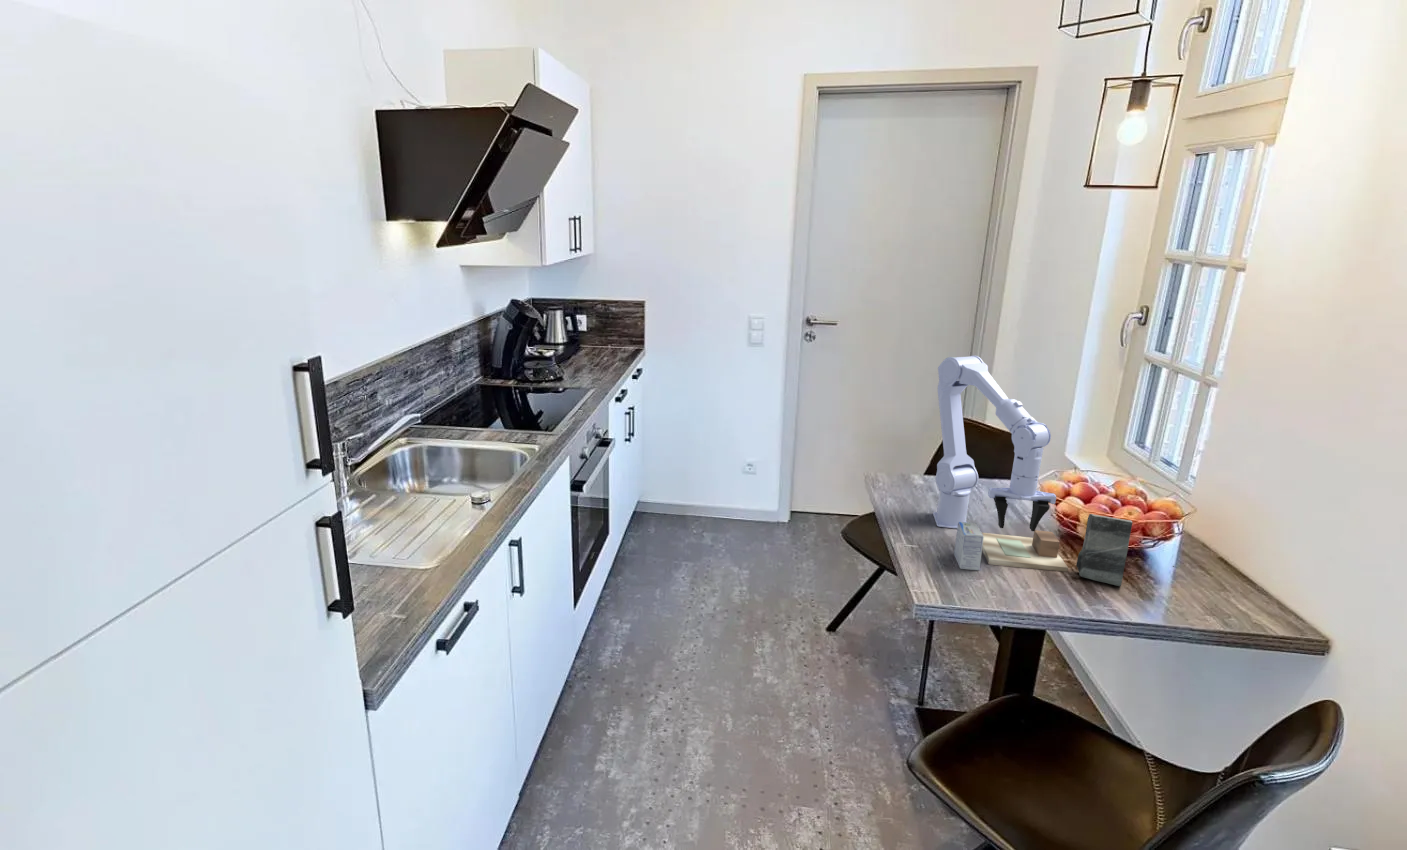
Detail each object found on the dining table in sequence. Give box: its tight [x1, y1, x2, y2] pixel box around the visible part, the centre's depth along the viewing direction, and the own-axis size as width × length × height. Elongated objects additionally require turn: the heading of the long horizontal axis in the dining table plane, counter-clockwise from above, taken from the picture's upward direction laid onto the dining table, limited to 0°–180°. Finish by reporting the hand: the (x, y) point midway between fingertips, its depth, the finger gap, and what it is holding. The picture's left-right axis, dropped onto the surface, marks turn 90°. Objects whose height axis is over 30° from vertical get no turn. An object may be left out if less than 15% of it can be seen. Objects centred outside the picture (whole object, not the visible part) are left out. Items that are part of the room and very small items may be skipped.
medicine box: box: [953, 521, 984, 571], centre depth 160 cm, size 8×4×9 cm, turn 170°
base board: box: [981, 532, 1069, 573], centre depth 166 cm, size 16×17×2 cm
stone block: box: [1076, 513, 1133, 587], centre depth 153 cm, size 9×14×5 cm
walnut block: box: [1032, 529, 1060, 558], centre depth 164 cm, size 6×4×4 cm, turn 169°
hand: (1016, 528), depth 165 cm, fingers open, 6 cm apart
